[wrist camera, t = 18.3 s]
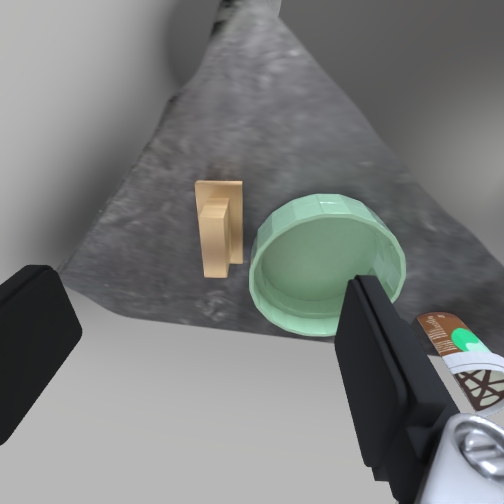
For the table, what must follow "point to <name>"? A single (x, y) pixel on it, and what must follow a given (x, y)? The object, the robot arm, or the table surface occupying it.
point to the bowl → (319, 261)
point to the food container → (467, 361)
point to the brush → (220, 225)
